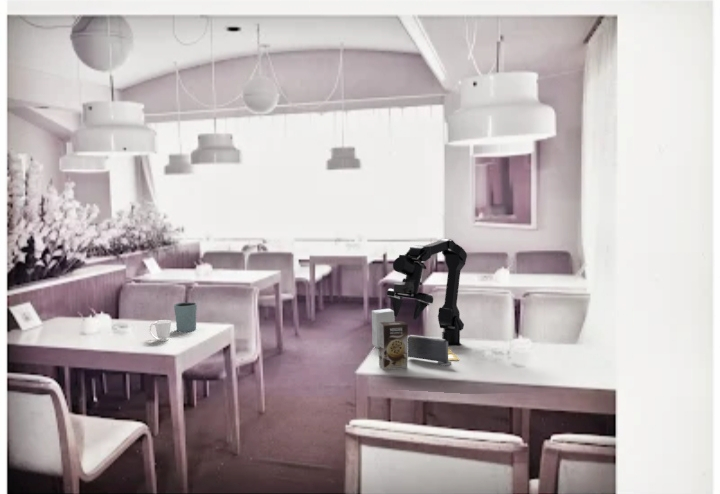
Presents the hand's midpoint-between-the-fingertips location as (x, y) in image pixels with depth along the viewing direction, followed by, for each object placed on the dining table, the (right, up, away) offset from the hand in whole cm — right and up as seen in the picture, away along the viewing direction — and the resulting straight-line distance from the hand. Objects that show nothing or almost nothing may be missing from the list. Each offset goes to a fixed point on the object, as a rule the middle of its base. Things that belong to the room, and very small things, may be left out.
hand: (404, 318), depth 238 cm
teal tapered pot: (-97, -11, +53) cm, 111 cm away
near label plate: (+16, -14, +10) cm, 24 cm away
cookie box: (-5, -17, -10) cm, 20 cm away
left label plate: (+17, -15, +1) cm, 23 cm away
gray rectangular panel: (+8, -15, -4) cm, 17 cm away
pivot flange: (+14, -16, -7) cm, 22 cm away
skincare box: (-7, -14, +21) cm, 26 cm away
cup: (-103, -13, +34) cm, 109 cm away
